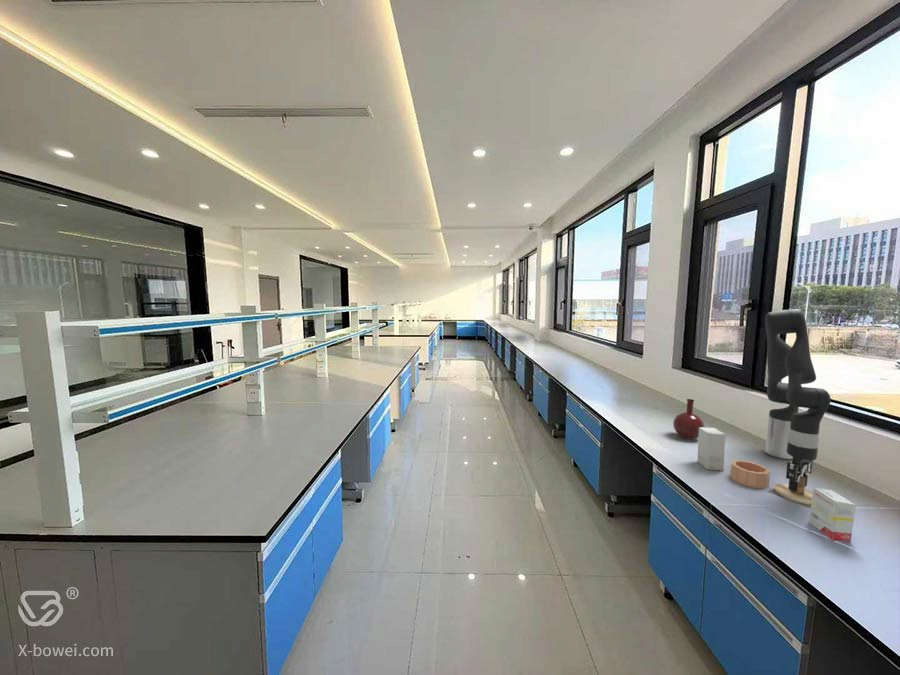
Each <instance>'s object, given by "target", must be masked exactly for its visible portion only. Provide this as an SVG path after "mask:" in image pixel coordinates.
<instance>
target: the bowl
mask: <svg viewBox="0 0 900 675" xmlns="http://www.w3.org/2000/svg"><path fill="white" fill-rule="evenodd" d="M729 476H730V479H731V480H733V481H735V482H736V483H738V484H741V485H744V486H746V487H750V488H754V489H767V488H768V487H770V486H769V485H770V477H771V471H770V469H769V468H768V467H767V466H766V467H765V466H764V465H761V464H758V463H757V462H753V461H747V460H742V459H741V460H740V459H735V460H732V461H731V464H730V474H729Z"/></svg>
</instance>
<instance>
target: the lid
mask: <svg viewBox="0 0 900 675" xmlns="http://www.w3.org/2000/svg"><path fill="white" fill-rule="evenodd" d="M792 477H794V475H792ZM805 481H806V478H805V477H803V476H801V477H800V479H799V481H798V482H799V483H798V491H796V492H794V491H792V490H789V489H788V487H789V483H788V484H787V483H776V484H774V486H773V488H774V491H775V492H776V493H777V494H778V495H780V496H781V497H780V496H779V497H780V498H782V497H783V498H782V499H785V498H786V499H785V500H787V499H788V500H787V501H790V500H791V502H793V503H795V502H797V503H796V504H798V503H800V504H805V505H811V503H812V495H813V491H811V490H809V489H806V487H805ZM800 504H799V505H800Z"/></svg>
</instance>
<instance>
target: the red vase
mask: <svg viewBox="0 0 900 675" xmlns="http://www.w3.org/2000/svg"><path fill="white" fill-rule="evenodd" d="M686 402H687V403H686V411H685V412H684V411H683V412H681V413H678V414H677V415H676V416H675V417H674V419H673V422H672V424H673V425H672V426H673V429H674V431H675V432H676V433H677V435H678V436H680V437H682V438H683V439H687V440H693V439H698V437H699V427H703V428H706V427H705V422H704V421H703V419H702V418H701V417H700V416H699V415H697V414H696V413H693V412H694V402H695V399H692V398H686Z"/></svg>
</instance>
